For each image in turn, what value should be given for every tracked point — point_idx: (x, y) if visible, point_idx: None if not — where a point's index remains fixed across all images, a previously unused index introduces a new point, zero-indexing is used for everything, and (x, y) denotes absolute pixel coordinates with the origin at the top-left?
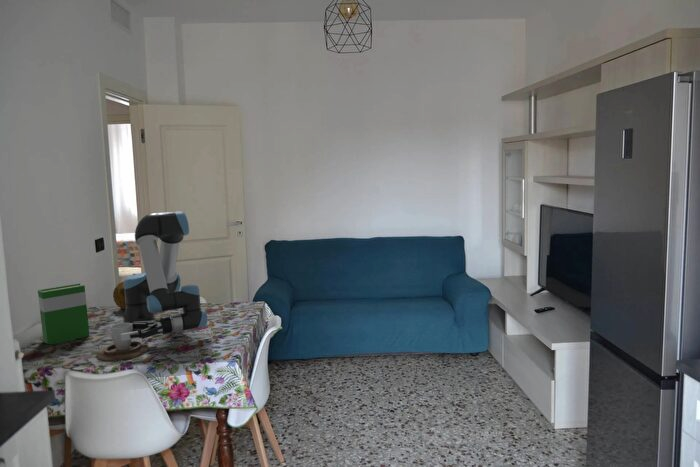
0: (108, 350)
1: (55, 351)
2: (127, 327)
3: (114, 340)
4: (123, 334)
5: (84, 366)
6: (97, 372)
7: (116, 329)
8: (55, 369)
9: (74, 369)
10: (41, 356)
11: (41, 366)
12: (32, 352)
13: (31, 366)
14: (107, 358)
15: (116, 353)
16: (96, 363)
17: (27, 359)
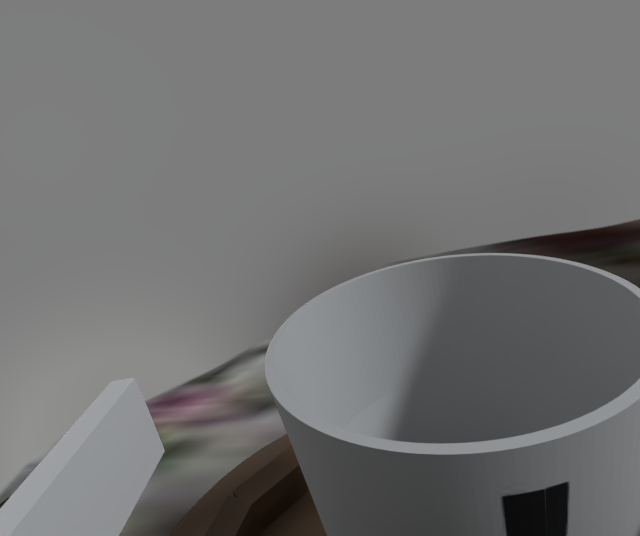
0: None
1: (634, 265)
2: (279, 405)
3: (402, 424)
4: (98, 407)
5: (258, 382)
6: None
7: (312, 313)
8: None
9: (251, 356)
10: (554, 252)
11: None
12: (635, 226)
13: None
14: (240, 465)
15: (227, 509)
16: (256, 424)
17: (526, 238)
